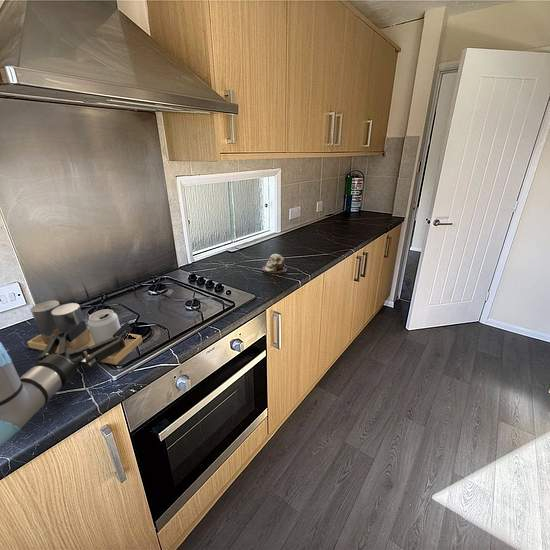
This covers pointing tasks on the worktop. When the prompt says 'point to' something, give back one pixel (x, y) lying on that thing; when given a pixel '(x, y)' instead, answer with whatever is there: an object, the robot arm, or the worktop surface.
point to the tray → (112, 359)
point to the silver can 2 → (70, 323)
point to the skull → (275, 264)
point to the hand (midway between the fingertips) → (106, 325)
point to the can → (103, 325)
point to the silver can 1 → (45, 319)
